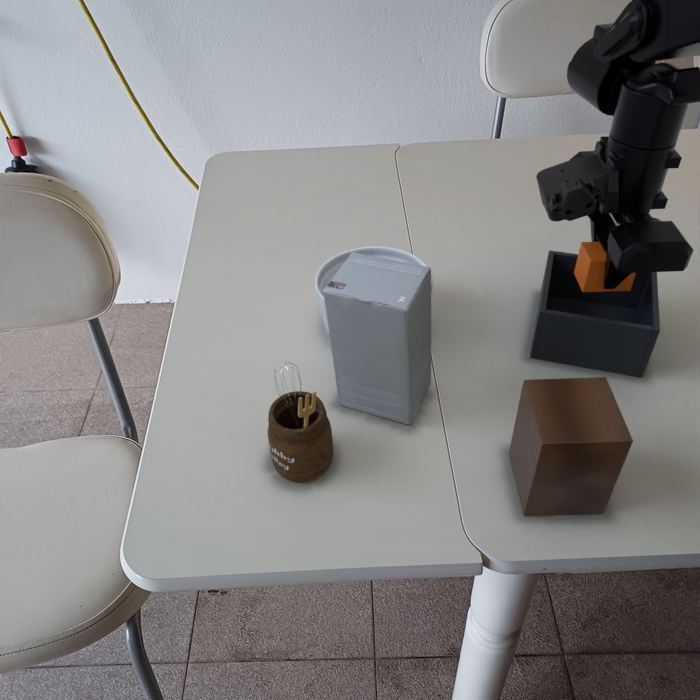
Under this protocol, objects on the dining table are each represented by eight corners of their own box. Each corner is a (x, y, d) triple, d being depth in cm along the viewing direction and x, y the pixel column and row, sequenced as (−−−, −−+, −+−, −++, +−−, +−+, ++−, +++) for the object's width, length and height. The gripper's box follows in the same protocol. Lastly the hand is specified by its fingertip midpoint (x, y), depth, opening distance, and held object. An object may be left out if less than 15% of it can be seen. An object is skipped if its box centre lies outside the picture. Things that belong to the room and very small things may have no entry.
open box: (640, 310, 77) (656, 264, 72) (642, 377, 68) (660, 330, 64) (539, 295, 79) (549, 250, 75) (529, 358, 71) (539, 311, 67)
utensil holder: (317, 427, 65) (307, 338, 57) (346, 471, 61) (340, 382, 53) (263, 450, 63) (245, 361, 55) (289, 497, 59) (273, 409, 51)
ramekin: (294, 331, 76) (289, 283, 71) (366, 278, 83) (365, 232, 79) (382, 381, 69) (382, 332, 65) (452, 319, 77) (456, 272, 72)
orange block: (619, 271, 70) (629, 240, 67) (630, 291, 68) (640, 259, 65) (573, 273, 70) (581, 241, 68) (582, 292, 68) (590, 261, 65)
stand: (581, 450, 62) (606, 376, 55) (603, 514, 57) (633, 440, 50) (508, 453, 62) (523, 379, 55) (523, 516, 57) (542, 443, 50)
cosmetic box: (431, 386, 69) (440, 263, 58) (407, 433, 64) (412, 309, 53) (359, 364, 72) (354, 243, 61) (330, 409, 67) (320, 286, 56)
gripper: (530, 99, 65) (510, 232, 76) (581, 190, 51) (547, 337, 62) (641, 95, 65) (605, 229, 75) (722, 185, 51) (664, 334, 62)
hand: (603, 277), depth 69 cm, fingers closed on orange block, 3 cm apart
